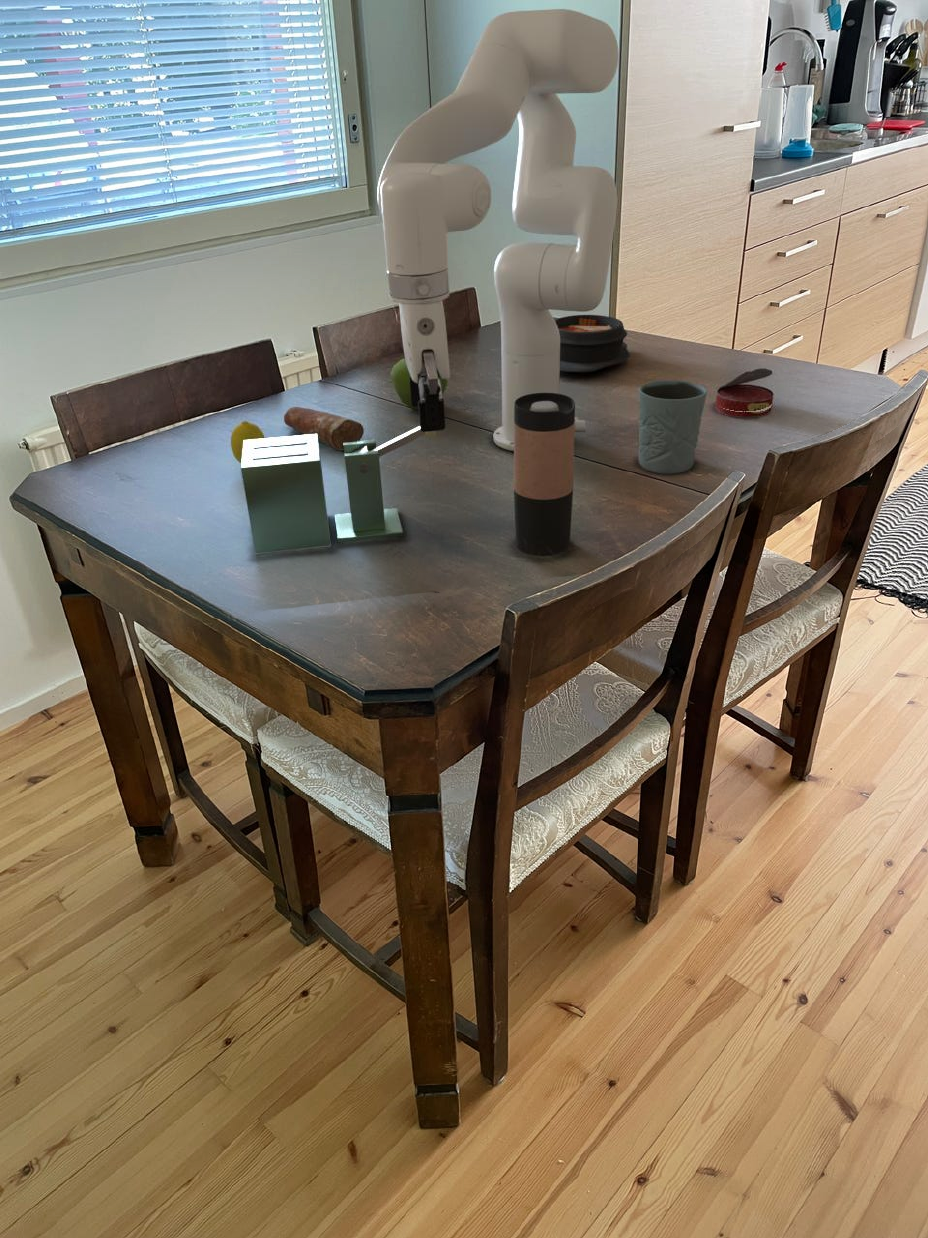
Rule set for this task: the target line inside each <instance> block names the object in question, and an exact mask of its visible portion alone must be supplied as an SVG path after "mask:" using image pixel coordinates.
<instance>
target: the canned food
mask: <svg viewBox="0 0 928 1238" xmlns="http://www.w3.org/2000/svg"><path fill="white" fill-rule="evenodd" d="M772 374H773V370H772V369H768V368H766V367H765V368H762V367H761V368H755V369H753V370H751V371H750V370H748V371H745V372H743V373H741V374H740V375H738V376H737V377H735V378H734V379H732V380H731V381H729V382H727V383H725V384H724V385H721V386H719V387H717V388H716V399H715V400H716V401H715V407H714V408H715V411H717V413H719V414H721V415H725V416H728V417H732V418H740V419H755V418H761V417H764V416H767V415H769V414H771V412H772V407H773V400H774V392H773V390H771V389H769V388H767V387H765V386H761V385H755V384H748V383H750V382H753V381H754V382H755V381H757V380H761V379H766V378H767V377H769V376H771V375H772ZM745 383H746V384H745ZM716 403H717V404H716ZM771 404H772V406H771V408H769V409H767V410H765V411H760V412H746V411H756V410H761V409H764V408H766V407H769V406H770V405H771ZM719 406H720V407H719ZM721 407H722V408H721ZM723 408H725V409H723ZM726 409H729V410H726ZM730 410H734V411H730ZM735 411H743V412H735ZM744 411H745V412H744Z"/></svg>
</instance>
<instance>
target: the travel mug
mask: <svg viewBox="0 0 928 1238" xmlns="http://www.w3.org/2000/svg"><path fill="white" fill-rule="evenodd" d="M575 417H576V401H575V400H574V398H572V397H571V396H568V395H565V394H562V393H559V394H557V393H534V394H528V395H524V396H522V397H520V398H518V399H517V400H516V401H515V404H514V451H513V504H514V505H513V506H514V524H515V525H514V529H515V547H516V549H518V550H519V551H520V552H522V553H524V554H526V555H530V556H534V557H535V556H536V557H549V556H550V557H551V556H556V555H559V554H562V553H564V552H565V551H567V550H568V549H569V548H570V545H571V543H570V541H571V528H572V513H573V512H572V511H573V497H574V473H575V472H574V470H575V432H574V428H575Z"/></svg>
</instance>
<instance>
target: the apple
mask: <svg viewBox="0 0 928 1238" xmlns="http://www.w3.org/2000/svg"><path fill="white" fill-rule="evenodd" d="M439 376H440V374H439ZM409 377H411V376H410V373H409V371H408V368H407V365H406V360H405V358H402V359H400V360H399V361H398V362H397V363H396V364H393V366H392V370H391V372H390V378H391V382H392V385H393V388H394V390H395V392H396V394H397V396H398V397H399V399H400V401H401V403H403V404H404V405H405V406H407V407H409V408H410V409H412V410H414V411H419V406H412V404H411V395H410V382H409ZM440 382H441V389H442V396H443V395H444V394H445V392H446V388H447V386H448V380H447V381H445V379H442V378H441V376H440Z"/></svg>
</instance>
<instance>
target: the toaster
mask: <svg viewBox="0 0 928 1238" xmlns="http://www.w3.org/2000/svg"><path fill="white" fill-rule="evenodd" d="M319 442H320V441H319V440H318V434H310V435H305V434H300V435H290V436H289V435H288V436H278V437H267V438H265V439H254V440H244V441H243V451H242V461H241V463H240V471H241V478H242V483H243V484H242V485H243V489H244V493H245V494H244V495H245V499H246V500H245V501H246V506H247V513H248V519H249V525H250V530H251V537H252V541H253V547H254V555H255V556H260V555H268V554H278V553H287V552H297V551H307V550H315V549H324V548H325V549H326V548H331V547H332V543H331V535H330V533H331V532H330V524H329V515H328V508H327V501H326V493H325V485H324V484H325V483H324V476H323V467H322V459H321V452H320V443H319Z"/></svg>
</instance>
